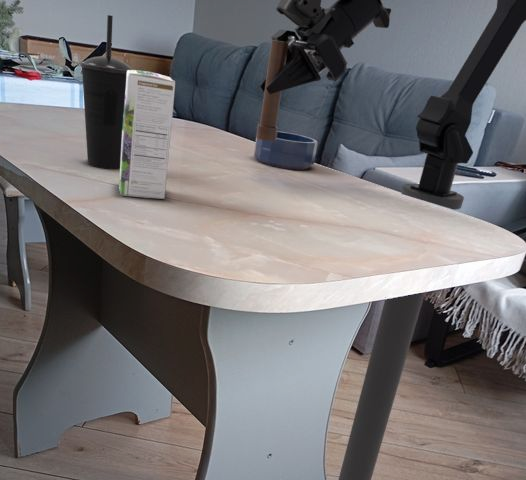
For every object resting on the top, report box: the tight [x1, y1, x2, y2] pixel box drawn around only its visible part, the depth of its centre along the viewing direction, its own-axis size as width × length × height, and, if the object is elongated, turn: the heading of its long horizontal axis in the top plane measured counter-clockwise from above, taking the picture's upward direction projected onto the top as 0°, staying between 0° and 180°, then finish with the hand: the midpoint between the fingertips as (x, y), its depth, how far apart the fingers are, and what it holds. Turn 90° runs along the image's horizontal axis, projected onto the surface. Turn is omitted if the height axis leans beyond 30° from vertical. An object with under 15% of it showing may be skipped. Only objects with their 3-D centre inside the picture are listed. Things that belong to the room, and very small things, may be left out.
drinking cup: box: [79, 14, 135, 170], centre depth 88 cm, size 8×8×20 cm
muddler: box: [255, 39, 289, 141], centre depth 95 cm, size 3×3×14 cm
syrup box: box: [118, 69, 176, 200], centre depth 78 cm, size 6×6×14 cm
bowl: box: [253, 130, 319, 171], centre depth 117 cm, size 11×11×5 cm
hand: (264, 90), depth 94 cm, fingers closed on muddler, 2 cm apart
